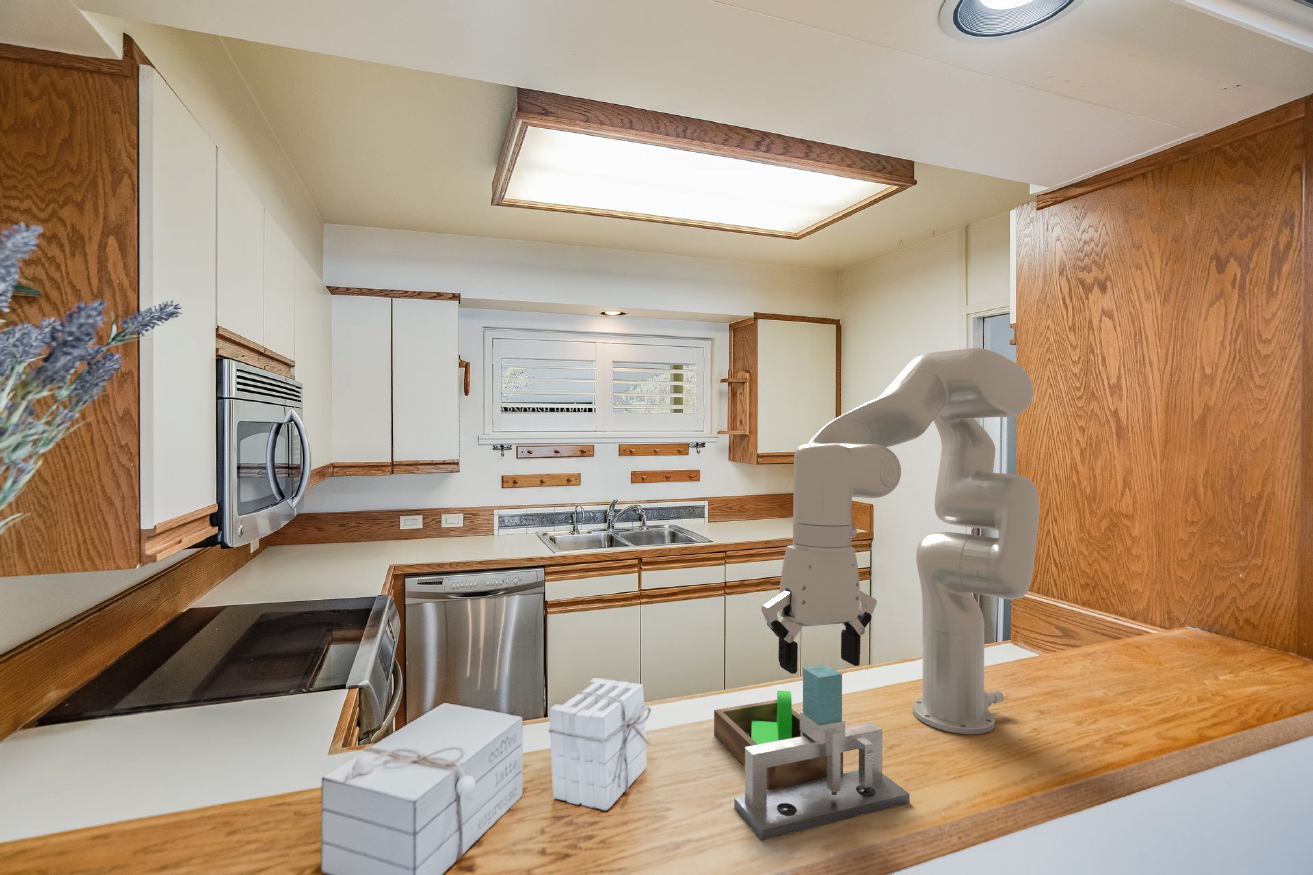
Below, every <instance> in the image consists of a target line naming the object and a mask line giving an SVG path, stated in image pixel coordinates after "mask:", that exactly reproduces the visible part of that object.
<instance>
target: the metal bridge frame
mask: <svg viewBox="0 0 1313 875" xmlns="http://www.w3.org/2000/svg"><path fill="white" fill-rule="evenodd" d="M855 750H858V770H859V784H860V785H862V787H863V788H864V789H869V787H871V786H872V781H877V780H881V779H882V774H883V728H881V727H879V726H878V725H877V724H875V723H873V722H870V723H865V724H859V725H854V726H849V727H845V740H841V752H843V753H845V752H846V753H847V752H850V751H855ZM826 755H827V743H825V744H820V745H819V744H818V743H817V742H815V741H814V740H813V739H811V738H810V737H809V736H808V735H806V736H801V737H796V738H791V739H785V740H780V741H775V742H770V743H765V744H759V745H754V746H749V747H745V766H744V796H745V801H746V802H747V803H748V805H749V806H750V807H751V808H752V809H756V808H760V807H765V806H767V768H768V767H773V766H778V765H783V764H788V763H793V762H797V761H802V760H807V759H812V758H817V757H821V756H826Z"/></svg>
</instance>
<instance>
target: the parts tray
mask: <svg viewBox="0 0 1313 875" xmlns="http://www.w3.org/2000/svg"><path fill="white" fill-rule="evenodd" d="M752 721H765V722H777V699H774V700H767V701H760V702H754V703H749V704H742V705H736V706H730V707H723V708H718V709H713V736H715V738H716V739H717V740H718V741H719V742H720V743H721V744H722V745H723V746H724V747H725V748H726V749H727V750H728V751H729V752H730V753H731V755H733V757H735V758H736V760H738V761H739V762H740V763H741V764H742V765H743V767H745V747H749V746H754V745H758V744H757V743H756V742H755V741H754V740H753V739H752V738H751V736H750V735H748V734H747V733H750V732H751V733H752ZM796 737H801V730H800V713H798V712H797V711H796V710H794V709H793V708H792V738H796ZM841 774H844V752H841ZM826 777H827V755H826V756H821V757H817V758H812V759H807V760H802V761H797V762H793V763H788V764H783V765H778V766H773V767H768V768H767V790H772V789H776V788H781V787H785V786H790V785H794V784H799V783H803V782H808V781H812V780H817V779H821V778H826Z"/></svg>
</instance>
